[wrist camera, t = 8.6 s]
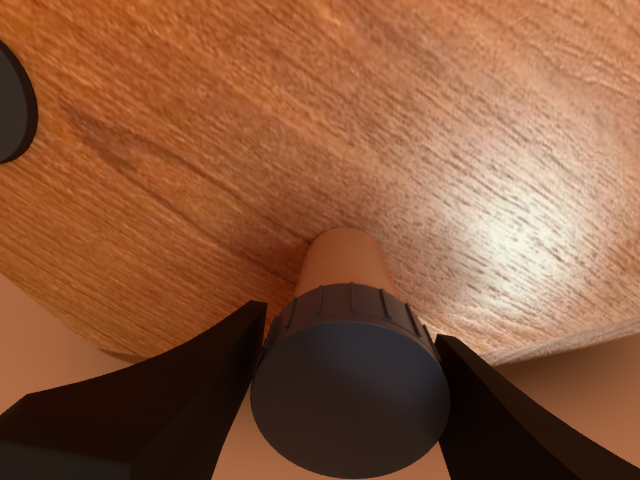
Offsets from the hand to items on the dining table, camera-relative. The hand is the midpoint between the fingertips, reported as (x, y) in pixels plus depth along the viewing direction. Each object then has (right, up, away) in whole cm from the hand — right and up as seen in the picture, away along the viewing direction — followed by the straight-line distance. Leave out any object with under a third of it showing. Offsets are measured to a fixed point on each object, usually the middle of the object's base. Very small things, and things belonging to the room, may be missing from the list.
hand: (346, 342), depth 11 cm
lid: (0, -1, -3) cm, 3 cm away
